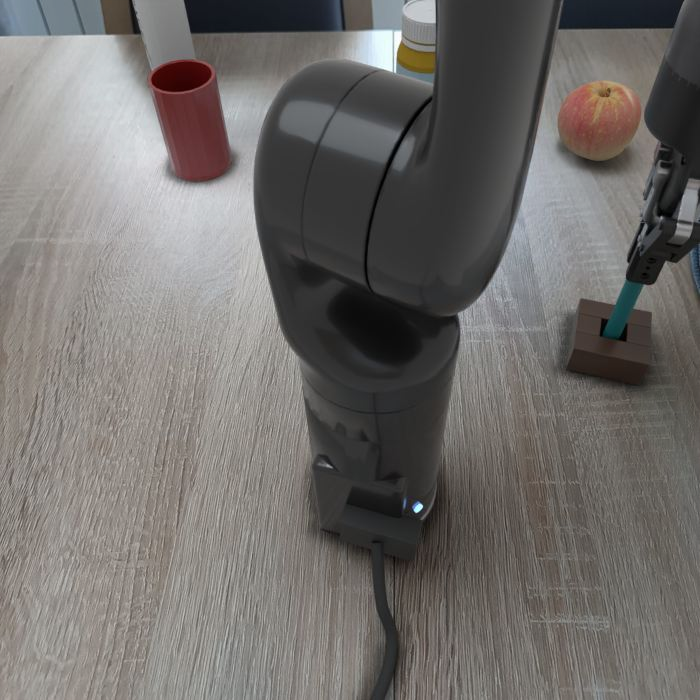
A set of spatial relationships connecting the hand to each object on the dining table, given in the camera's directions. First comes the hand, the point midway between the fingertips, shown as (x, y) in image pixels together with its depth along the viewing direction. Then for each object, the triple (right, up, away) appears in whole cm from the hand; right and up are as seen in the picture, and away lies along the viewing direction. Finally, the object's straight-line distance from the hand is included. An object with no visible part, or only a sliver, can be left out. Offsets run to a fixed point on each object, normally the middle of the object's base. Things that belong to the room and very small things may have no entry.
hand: (639, 271), depth 51 cm
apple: (+6, +18, +27) cm, 33 cm away
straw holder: (0, -6, +8) cm, 10 cm away
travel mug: (-47, +32, +40) cm, 69 cm away
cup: (-41, +16, +27) cm, 52 cm away
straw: (0, -6, +8) cm, 10 cm away
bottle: (-14, +21, +30) cm, 39 cm away
